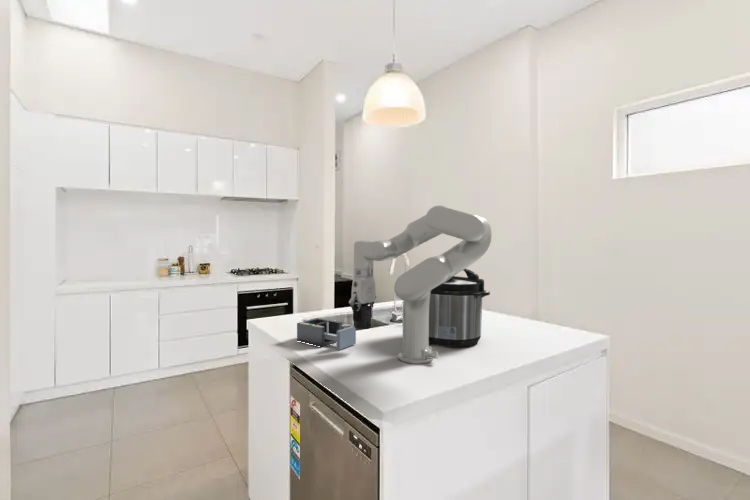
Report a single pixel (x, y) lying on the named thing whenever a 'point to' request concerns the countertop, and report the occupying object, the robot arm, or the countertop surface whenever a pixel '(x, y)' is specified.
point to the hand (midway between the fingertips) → (362, 319)
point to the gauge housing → (317, 331)
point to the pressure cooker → (457, 311)
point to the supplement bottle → (364, 317)
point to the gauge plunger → (341, 336)
